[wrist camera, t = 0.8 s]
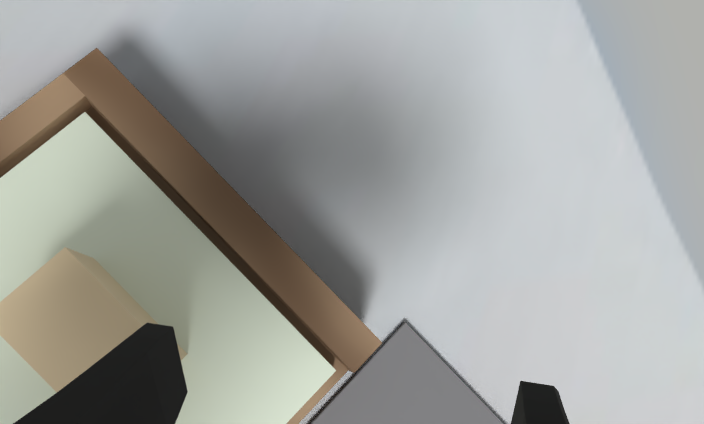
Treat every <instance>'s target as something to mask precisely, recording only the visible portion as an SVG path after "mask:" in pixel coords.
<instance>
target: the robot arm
mask: <svg viewBox="0 0 704 424" xmlns="http://www.w3.org/2000/svg"><path fill="white" fill-rule="evenodd" d="M187 392H188V391H187V386H186V382H185V377H184V373H183V368H182V364H181V359H180V355H179V350H178V346H177V341H176V337H175V332H174V328H173V327H172V326H166V325H159V324H153V323H146V324H145V325H143V326H142V327H141V328H139V329H138V330H137V331H135V332H134V333H133V334H132V335H130V336H129V337H128V338H126V339H125V340H124V341H123V342H121V343H120V344H119V345H118V346H116V347H115V348H114V349H112V350H111V351H110V352H109V353H107V354H106V355H105V356H104V357H102V358H101V359H100V360H99V361H97V362H96V363H95V364H93V365H92V366H91V367H90V368H88V369H87V370H86V371H84V372H83V373H82V374H80V375H79V376H78V377H77V378H75V379H74V380H73V381H71V382H70V383H69V384H67V385H66V386H65V387H63V388H62V389H61V390H60V391H58V392H57V393H56V394H54V395H53V396H51V397H50V398H49V399H47V400H46V401H44V402H43V403H42V404H40V405H39V406H37V407H36V408H34V409H33V410H32V411H30V412H29V413H27V414H26V415H25V416H23V417H22V418H20V419H19V420H18V421H16V422H15V423H13V424H175V423H176V420H177V418H178V415H179V413H180V410H181V408H182V405H183V403H184V400H185V398H186V395H187ZM511 424H569V421H568V419H567V416H566V413H565V410H564V407H563V405H562V402H561V399H560V395H559V392H558V390H557V389H556V388H555V387H554V386H550V385H544V384H537V383H531V382H524V381H520V386H519V390H518V395H517V399H516V404H515V408H514V412H513V417H512V421H511Z"/></svg>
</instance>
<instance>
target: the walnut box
mask: <svg viewBox="0 0 704 424" xmlns="http://www.w3.org/2000/svg"><path fill="white" fill-rule="evenodd" d="M84 112H86V113H87V114H88V115H89V117H90V118H91V119H92V120H93V121H94V122H95V123H96V124H97V125H98V126H99V127H100V128H101V129H102V130H103V131H104V132H105V133H106V134H107V135H108V136H109V137H110V138H111V139H112V140H113V141H114V142H115V143H116V144H117V145H118V146H119V147H120V148H121V149H122V150H123V152H124V153H125V154H126V155H127V156H128V157H129V158H130V159H131V160H132V161H133V162H134V163H135V164H136V165H137V166H138V167H139V168H140V169H141V170H142V171H143V172H144V173H145V174H146V175H147V176H148V177H149V178H150V179H151V180H152V181H153V182H154V183H155V184H156V185H157V187H158V188H159V189H160V190H161V191H162V192H163V193H164V194H165V195H166V196H167V197H168V198H169V199H170V200H171V201H172V202H173V203H174V204H175V205H176V206H177V207H178V208H179V209H180V210H181V211H182V212H183V213H184V214H185V215H186V216H187V217H188V218H189V219H190V220H191V222H192V223H193V224H194V225H195V226H196V227H197V228H198V229H199V230H200V231H201V232H202V233H203V234H204V235H205V236H206V237H207V238H208V239H209V240H210V241H211V242H212V243H213V244H214V245H215V246H216V247H217V248H218V249H219V250H220V251H221V252H222V253H223V254H224V255H225V257H226V258H227V259H228V260H229V261H230V262H231V263H232V264H233V265H234V266H235V267H236V268H237V269H238V270H239V271H240V272H241V273H242V274H243V275H244V276H245V277H246V278H247V279H248V280H249V281H250V282H251V283H252V284H253V285H254V286H255V287H256V288H257V289H258V290H259V292H260V293H261V294H262V295H263V296H264V297H265V298H266V299H267V300H268V301H269V302H270V303H271V304H272V305H273V306H274V307H275V308H276V309H277V310H278V311H279V312H280V313H281V314H282V315H283V316H284V317H285V318H286V319H287V320H288V321H289V322H290V323H291V324H292V325H293V327H294V328H295V329H296V330H297V331H298V332H299V333H300V334H301V335H302V336H303V337H304V338H305V339H306V340H307V341H308V342H309V343H310V344H311V345H312V346H313V347H314V348H315V349H316V350H317V351H318V352H319V353H320V354H321V355H322V356H323V357H324V358H325V359H326V361H327V362H328V363H329V364H330V365H331V366H332V367H333V368H334V369H335V370H336V371H335V372H334V373H333V375H332V376H331V377H330V378H329V379H328V380H327V381H326V382H325V383H324V384H323V385H322V386H321V387H320V388H319V389H318V390H317V392H316V393H315V394H314V395H313V396H312V397H311V398H310V399H309V400H308V401H307V402H306V403H305V404H304V405H303V406H302V407H301V409H300V410H299V411H298V412H297V413H296V414H295V415H294V416H293V417H292V418H291V419H290V420H289V421H288V422H287V423H286V424H298V423H299V422H300V421H301V420H302V419H303V418H304V417H305V416H306V415H307V414H308V413H309V412H310V411H311V409H312V408H313V407H314V406H315V405H316V404H317V403H318V402H319V401H320V400H321V399H322V398H323V397H324V396H325V395H326V393H327V392H328V391H329V390H330V389H331V388H332V387H333V386H334V385H335V384H336V383H337V382H338V381H339V380H340V379H341V377H342V376H343V375H344V374H345V373H346V372H347V371H348V370H349V371H351V372H353V373H355V372H356V371H357V370H358V369H359V367H360V366H361V365H362V364H363V363H364V362H365V361H366V360H367V359H368V358H369V357H370V356H371V355H372V353H373V352H374V351H375V350H376V349H377V348H378V347H379V346H380V345H381V344H382V342H381V341H380V340H379V339H378V338H377V337H376V336H375V335H374V334H373V333H372V332H371V331H370V330H369V329H368V328H367V326H366V325H365V324H364V323H363V322H362V321H361V320H360V319H359V318H358V317H357V316H356V315H355V314H354V313H353V312H352V311H351V310H350V309H349V308H348V307H347V306H346V305H345V304H344V303H343V302H342V301H341V300H340V299H339V298H338V297H337V295H336V294H335V293H334V292H333V291H332V290H331V289H330V288H329V287H328V286H327V285H326V284H325V283H324V282H323V281H322V280H321V279H320V278H319V277H318V276H317V275H316V274H315V273H314V272H313V271H312V270H311V269H310V268H309V267H308V266H307V264H306V263H305V262H304V261H303V260H302V259H301V258H300V257H299V256H298V255H297V254H296V253H295V252H294V251H293V250H292V249H291V248H290V247H289V246H288V245H287V244H286V243H285V242H284V241H283V240H282V239H281V238H280V237H279V236H278V235H277V233H276V232H275V231H274V230H273V229H272V228H271V227H270V226H269V225H268V224H267V223H266V222H265V221H264V220H263V219H262V218H261V217H260V216H259V215H258V214H257V213H256V212H255V211H254V210H253V209H252V208H251V207H250V206H249V205H248V204H247V202H246V201H245V200H244V199H243V198H242V197H241V196H240V195H239V194H238V193H237V192H236V191H235V190H234V189H233V188H232V187H231V186H230V185H229V184H228V183H227V182H226V181H225V180H224V179H223V178H222V177H221V176H220V175H219V174H218V173H217V171H216V170H215V169H214V168H213V167H212V166H211V165H210V164H209V163H208V162H207V161H206V160H205V159H204V158H203V157H202V156H201V155H200V154H199V153H198V152H197V151H196V150H195V149H194V148H193V147H192V146H191V145H190V144H189V143H188V142H187V140H186V139H185V138H184V137H183V136H182V135H181V134H180V133H179V132H178V131H177V130H176V129H175V128H174V127H173V126H172V125H171V124H170V123H169V122H168V121H167V120H166V119H165V118H164V117H163V116H162V115H161V114H160V113H159V112H158V111H157V109H156V108H155V107H154V106H153V105H152V104H151V103H150V102H149V101H148V100H147V99H146V98H145V97H144V96H143V95H142V94H141V93H140V92H139V91H138V90H137V89H136V88H135V87H134V86H133V85H132V84H131V83H130V82H129V81H128V80H127V78H126V77H125V76H124V75H123V74H122V73H121V72H120V71H119V70H118V69H117V68H116V67H115V66H114V65H113V64H112V63H111V62H110V61H109V60H108V59H107V58H106V57H105V56H104V55H103V54H102V53H101V52H100V51H99V50H98V49H97V48H96V49H95V50H93V51H92V52H91V53H89V54H88V55H87V56H85V57H84V58H83V59H81V60H80V61H79V62H77V63H76V64H75V65H73V66H72V67H71V68H69V69H68V70H67V71H65V72H64V73H63V74H61V75H60V76H59V77H57V78H56V79H55V80H54V81H52V82H51V83H50V84H48V85H47V86H46V87H44V88H43V89H42V90H40V91H39V92H38V93H36V94H35V95H34V96H32V97H31V98H30V99H28V100H27V101H26V102H24V103H23V104H22V105H20V106H19V107H18V108H16V109H15V110H14V111H12V112H11V113H10V114H8V115H7V116H6V117H4V118H3V119H2V120H0V178H1V177H2V176H3V175H5V174H6V173H7V172H9V171H10V170H11V169H12V168H14V167H15V166H16V165H17V164H19V163H20V162H21V161H23V160H24V159H25V158H26V157H28V156H29V155H30V154H32V153H33V152H34V151H35V150H37V149H38V148H39V147H40V146H42V145H43V144H44V143H46V142H47V141H48V140H49V139H51V138H52V137H53V136H55V135H56V134H57V133H58V132H60V131H61V130H62V129H63V128H65V127H66V126H67V125H69V124H70V123H71V122H72V121H74V120H75V119H76V118H77V117H79V116H80V115H81V114H83V113H84Z"/></svg>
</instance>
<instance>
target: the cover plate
mask: <svg viewBox="0 0 704 424" xmlns="http://www.w3.org/2000/svg"><path fill="white" fill-rule="evenodd" d="M146 323H153V324H159V325H166V326H172V327H173V328H174V332H175V337H176V341H177V346H178V350H179V355H180V359H181V364H182V368H183V373H184V377H185V382H186V386H187V391H188V392H187V395H186V398H185V400H184V403H183V405H182V408H181V410H180V413H179V415H178V418H177V420H176V423H175V424H286V423H287V422H288V421H289V420H290V419H291V418H292V417H293V416H294V415H295V414H296V413H297V412H298V411H299V410H300V409H301V407H302V406H303V405H304V404H305V403H306V402H307V401H308V400H309V399H310V398H311V397H312V396H313V395H314V394H315V393H316V392H317V390H318V389H319V388H320V387H321V386H322V385H323V384H324V383H325V382H326V381H327V380H328V379H329V378H330V377H331V376H332V375H333V373H334V372H335V371H336V370H335V369H334V368H333V367H332V366H331V365H330V364H329V363H328V362H327V361H326V359H325V358H324V357H323V356H322V355H321V354H320V353H319V352H318V351H317V350H316V349H315V348H314V347H313V346H312V345H311V344H310V343H309V342H308V341H307V340H306V339H305V338H304V337H303V336H302V335H301V334H300V333H299V332H298V331H297V330H296V329H295V328H294V327H293V325H292V324H291V323H290V322H289V321H288V320H287V319H286V318H285V317H284V316H283V315H282V314H281V313H280V312H279V311H278V310H277V309H276V308H275V307H274V306H273V305H272V304H271V303H270V302H269V301H268V300H267V299H266V298H265V297H264V296H263V295H262V294H261V293H260V292H259V290H258V289H257V288H256V287H255V286H254V285H253V284H252V283H251V282H250V281H249V280H248V279H247V278H246V277H245V276H244V275H243V274H242V273H241V272H240V271H239V270H238V269H237V268H236V267H235V266H234V265H233V264H232V263H231V262H230V261H229V260H228V259H227V258H226V257H225V255H224V254H223V253H222V252H221V251H220V250H219V249H218V248H217V247H216V246H215V245H214V244H213V243H212V242H211V241H210V240H209V239H208V238H207V237H206V236H205V235H204V234H203V233H202V232H201V231H200V230H199V229H198V228H197V227H196V226H195V225H194V224H193V223H192V222H191V220H190V219H189V218H188V217H187V216H186V215H185V214H184V213H183V212H182V211H181V210H180V209H179V208H178V207H177V206H176V205H175V204H174V203H173V202H172V201H171V200H170V199H169V198H168V197H167V196H166V195H165V194H164V193H163V192H162V191H161V190H160V189H159V188H158V187H157V185H156V184H155V183H154V182H153V181H152V180H151V179H150V178H149V177H148V176H147V175H146V174H145V173H144V172H143V171H142V170H141V169H140V168H139V167H138V166H137V165H136V164H135V163H134V162H133V161H132V160H131V159H130V158H129V157H128V156H127V155H126V154H125V153H124V152H123V150H122V149H121V148H120V147H119V146H118V145H117V144H116V143H115V142H114V141H113V140H112V139H111V138H110V137H109V136H108V135H107V134H106V133H105V132H104V131H103V130H102V129H101V128H100V127H99V126H98V125H97V124H96V123H95V122H94V121H93V120H92V119H91V118H90V117H89V115H88V114H87V113H86V112H84V113H83V114H81V115H80V116H79V117H77V118H76V119H75V120H74V121H72V122H71V123H70V124H69V125H67V126H66V127H65V128H63V129H62V130H61V131H60V132H58V133H57V134H56V135H55V136H53V137H52V138H51V139H49V140H48V141H47V142H46V143H44V144H43V145H42V146H40V147H39V148H38V149H37V150H35V151H34V152H33V153H32V154H30V155H29V156H28V157H26V158H25V159H24V160H23V161H21V162H20V163H19V164H17V165H16V166H15V167H14V168H12V169H11V170H10V171H9V172H7V173H6V174H5V175H3V176H2V177H1V178H0V424H13V423H15V422H16V421H18V420H19V419H20V418H22V417H23V416H25V415H26V414H27V413H29V412H30V411H32V410H33V409H34V408H36V407H37V406H39V405H40V404H42V403H43V402H44V401H46V400H47V399H49V398H50V397H51V396H53V395H54V394H56V393H57V392H58V391H60V390H61V389H62V388H63V387H65V386H66V385H67V384H69V383H70V382H71V381H73V380H74V379H75V378H77V377H78V376H79V375H80V374H82V373H83V372H84V371H86V370H87V369H88V368H90V367H91V366H92V365H93V364H95V363H96V362H97V361H99V360H100V359H101V358H102V357H104V356H105V355H106V354H107V353H109V352H110V351H111V350H112V349H114V348H115V347H116V346H118V345H119V344H120V343H121V342H123V341H124V340H125V339H126V338H128V337H129V336H130V335H132V334H133V333H134V332H135V331H137V330H138V329H139V328H141V327H142V326H143V325H145V324H146Z"/></svg>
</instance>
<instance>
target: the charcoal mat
mask: <svg viewBox="0 0 704 424" xmlns="http://www.w3.org/2000/svg"><path fill="white" fill-rule="evenodd" d="M310 424H503V423H502V422H501V421H500V420H499V419H498V418H497V417H496V415H495V414H494V413H493V412H492V411H491V410H490V409H489V408H488V407H487V406H486V405H485V404H484V403H483V402H482V401H481V400H480V399H479V398H478V397H477V396H476V395H475V394H474V393H473V392H472V391H471V390H470V389H469V388H468V386H467V385H466V384H465V383H464V382H463V381H462V380H461V379H460V378H459V377H458V376H457V375H456V374H455V373H454V372H453V371H452V370H451V369H450V368H449V367H448V366H447V365H446V364H445V363H444V362H443V361H442V360H441V359H440V357H439V356H438V355H437V354H436V353H435V352H434V351H433V350H432V349H431V348H430V347H429V346H428V345H427V344H426V343H425V342H424V341H423V340H422V339H421V338H420V337H419V336H418V335H417V334H416V333H415V332H414V331H413V330H412V328H411V327H410V326H409V325H408V324H407V323H403V324H402V325H401V326H400V327H399V328H398V329H397V331H396V332H395V333H394V334H393V335H392V336H391V337H390V338H389V339H388V340H387V341H386V342H385V343H384V345H383V346H382V347H381V348H380V349H379V350H378V351H377V352H376V353H375V354H374V355H373V356H372V357H371V359H370V360H369V361H368V362H367V363H366V364H365V365H364V366H363V367H362V368H361V369H360V370H359V371H358V373H357V374H356V375H355V376H354V377H353V378H352V379H351V380H350V381H349V382H348V383H347V384H346V385H345V387H344V388H343V389H342V390H341V391H340V392H339V393H338V394H337V395H336V396H335V397H334V398H333V399H332V401H331V402H330V403H329V404H328V405H327V406H326V407H325V408H324V409H323V410H322V411H321V412H320V413H319V415H318V416H317V417H316V418H315V419H314V420H313V421H312V422H311V423H310Z"/></svg>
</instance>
